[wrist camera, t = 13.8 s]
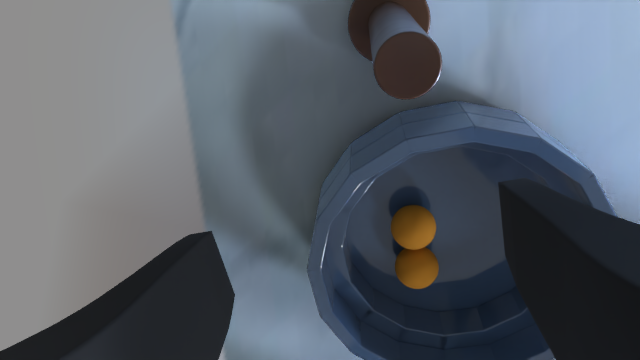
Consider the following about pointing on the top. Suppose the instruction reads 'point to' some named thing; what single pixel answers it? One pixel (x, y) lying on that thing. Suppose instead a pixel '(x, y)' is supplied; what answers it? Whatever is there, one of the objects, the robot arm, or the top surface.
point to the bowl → (450, 238)
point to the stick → (396, 44)
